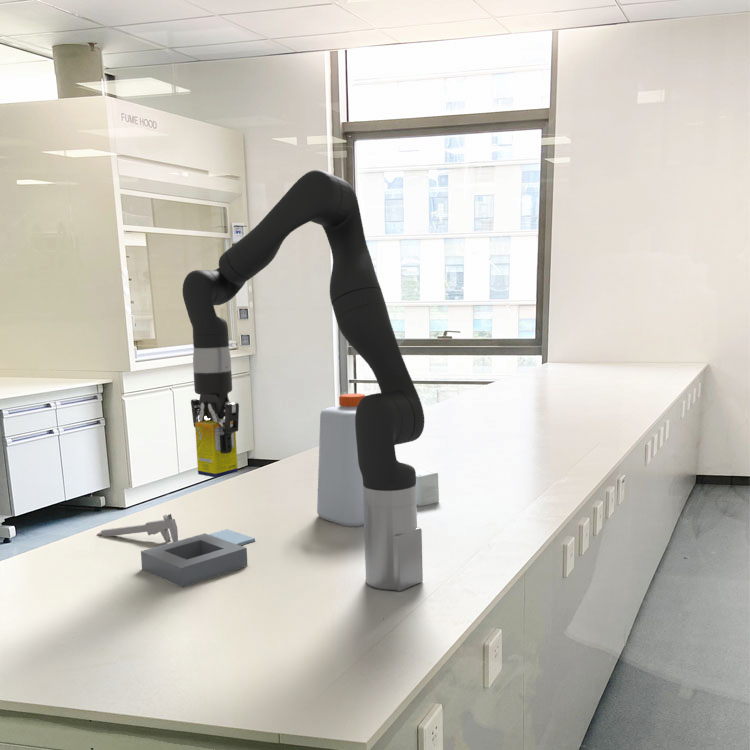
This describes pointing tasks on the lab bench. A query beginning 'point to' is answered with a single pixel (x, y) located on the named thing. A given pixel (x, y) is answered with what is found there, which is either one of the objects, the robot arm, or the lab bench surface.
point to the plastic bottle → (340, 465)
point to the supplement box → (213, 450)
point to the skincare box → (426, 487)
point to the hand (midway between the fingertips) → (216, 450)
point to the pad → (233, 537)
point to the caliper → (148, 529)
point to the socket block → (193, 559)
